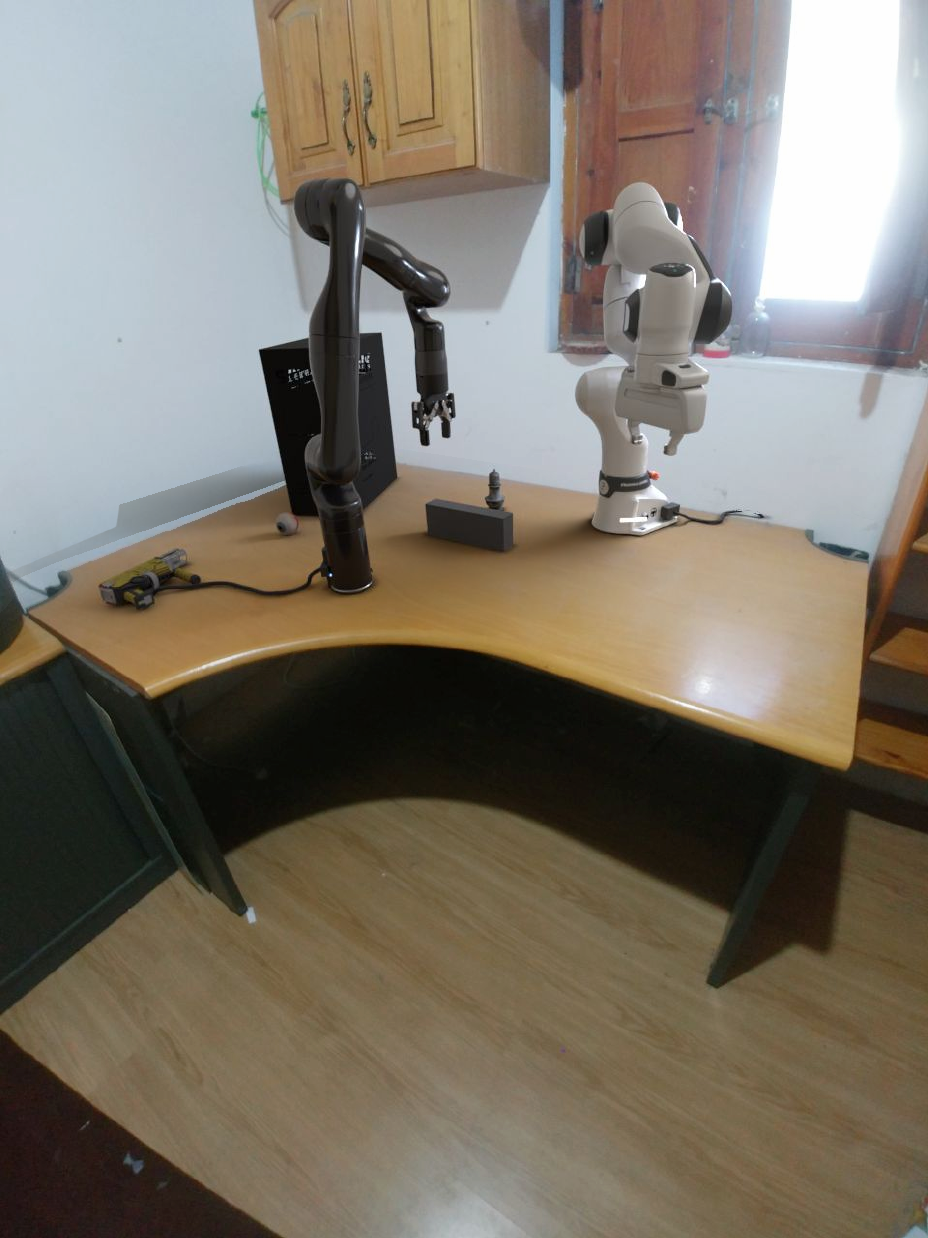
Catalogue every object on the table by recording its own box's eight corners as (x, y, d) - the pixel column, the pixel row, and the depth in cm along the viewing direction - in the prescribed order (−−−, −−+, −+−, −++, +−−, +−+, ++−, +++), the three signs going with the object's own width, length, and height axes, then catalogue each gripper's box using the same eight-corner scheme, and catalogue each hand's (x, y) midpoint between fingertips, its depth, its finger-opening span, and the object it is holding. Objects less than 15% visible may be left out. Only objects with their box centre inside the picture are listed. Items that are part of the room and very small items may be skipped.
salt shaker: (503, 513, 170) (502, 471, 164) (483, 513, 171) (481, 471, 165) (506, 506, 175) (506, 465, 169) (486, 506, 176) (485, 465, 170)
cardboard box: (355, 516, 174) (330, 347, 152) (292, 514, 179) (258, 349, 156) (397, 477, 206) (381, 332, 183) (342, 476, 210) (320, 334, 188)
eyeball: (273, 537, 164) (268, 516, 161) (287, 528, 169) (282, 508, 166) (291, 539, 161) (286, 518, 158) (305, 530, 166) (301, 510, 163)
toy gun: (224, 556, 146) (173, 545, 150) (148, 597, 126) (92, 584, 130) (226, 573, 148) (177, 563, 152) (152, 617, 128) (97, 603, 132)
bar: (513, 545, 151) (513, 512, 146) (504, 552, 148) (503, 518, 143) (438, 529, 163) (435, 498, 159) (427, 534, 160) (425, 503, 155)
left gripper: (436, 366, 147) (440, 434, 155) (399, 374, 136) (405, 446, 145) (462, 367, 143) (465, 436, 151) (425, 376, 133) (430, 450, 141)
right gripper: (609, 366, 113) (604, 440, 120) (687, 378, 97) (676, 464, 104) (636, 362, 115) (630, 436, 122) (717, 374, 99) (704, 458, 106)
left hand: (436, 441), depth 148 cm, fingers open, 8 cm apart
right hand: (652, 449), depth 113 cm, fingers open, 8 cm apart
